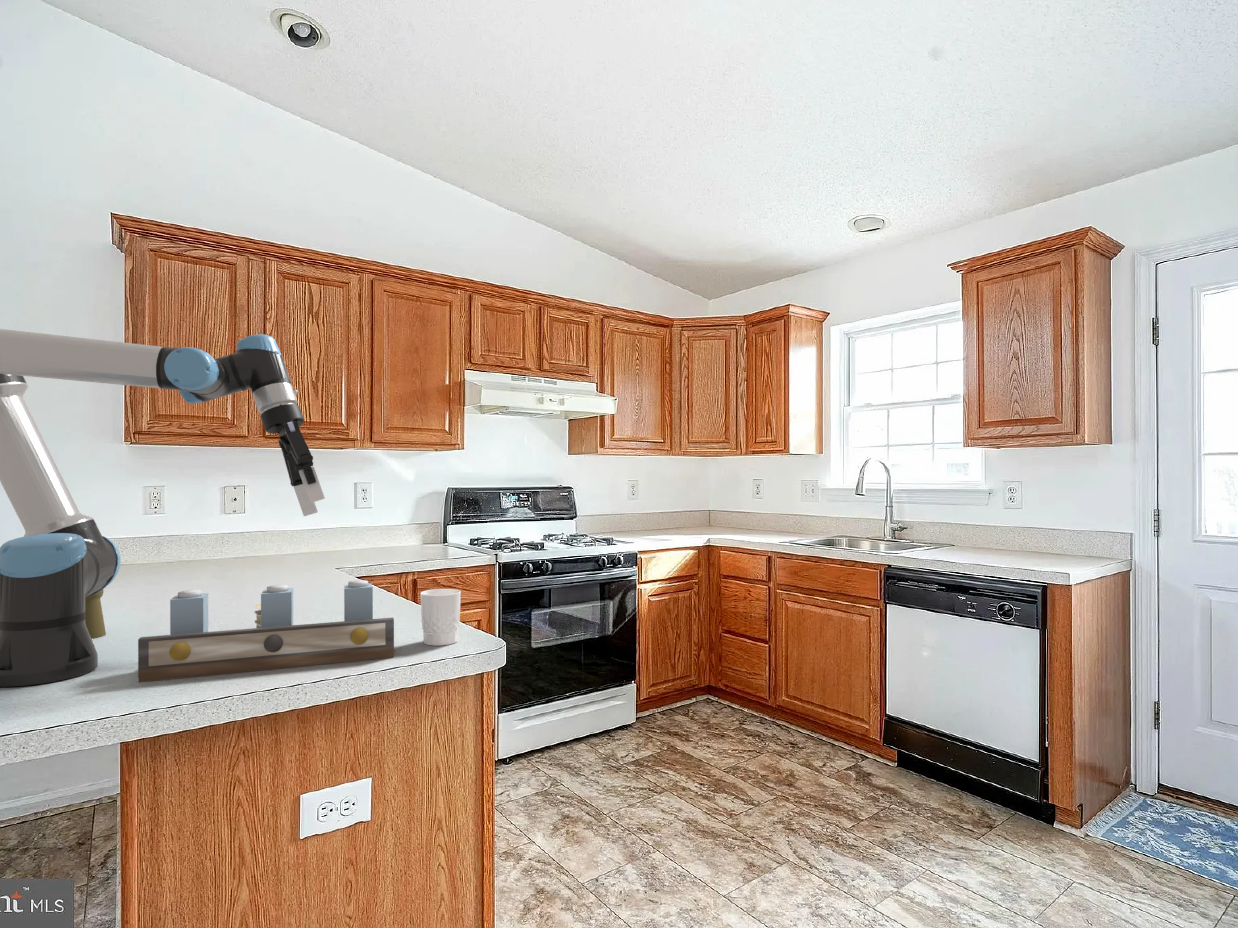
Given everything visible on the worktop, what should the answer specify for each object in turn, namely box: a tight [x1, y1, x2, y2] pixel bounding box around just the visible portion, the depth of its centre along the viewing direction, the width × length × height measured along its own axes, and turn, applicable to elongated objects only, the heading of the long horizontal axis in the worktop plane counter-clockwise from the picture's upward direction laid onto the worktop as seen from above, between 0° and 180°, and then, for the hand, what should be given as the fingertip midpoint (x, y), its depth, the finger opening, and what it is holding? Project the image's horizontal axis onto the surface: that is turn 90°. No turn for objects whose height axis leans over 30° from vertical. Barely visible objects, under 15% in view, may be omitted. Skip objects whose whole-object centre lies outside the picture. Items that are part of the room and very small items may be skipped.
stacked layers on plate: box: [254, 603, 261, 628], centre depth 155 cm, size 10×9×6 cm
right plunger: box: [343, 579, 374, 621], centre depth 136 cm, size 5×5×11 cm
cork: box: [85, 589, 107, 639], centre depth 149 cm, size 6×6×11 cm
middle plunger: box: [260, 584, 294, 628], centre depth 131 cm, size 5×5×11 cm
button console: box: [137, 617, 395, 683], centre depth 130 cm, size 13×40×7 cm, turn 111°
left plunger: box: [169, 589, 209, 635], centre depth 126 cm, size 5×5×11 cm
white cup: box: [420, 588, 462, 647], centre depth 143 cm, size 8×8×10 cm
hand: (314, 507), depth 142 cm, fingers open, 13 cm apart
